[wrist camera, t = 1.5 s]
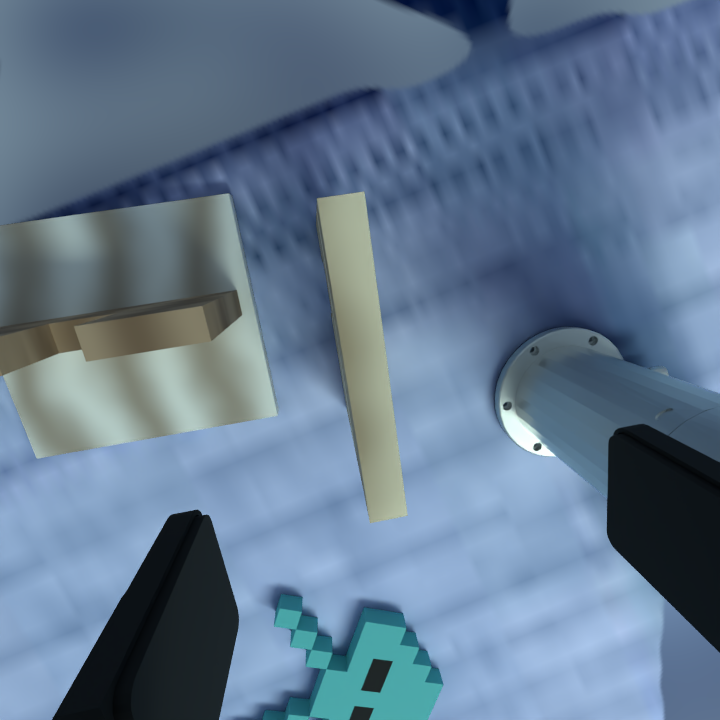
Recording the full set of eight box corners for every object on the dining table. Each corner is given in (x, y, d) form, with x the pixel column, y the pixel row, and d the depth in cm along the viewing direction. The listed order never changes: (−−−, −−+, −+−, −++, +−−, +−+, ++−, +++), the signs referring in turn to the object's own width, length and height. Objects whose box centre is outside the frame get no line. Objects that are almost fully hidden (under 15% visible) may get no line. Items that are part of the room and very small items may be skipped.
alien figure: (236, 732, 45) (400, 748, 49) (232, 755, 43) (404, 770, 47) (281, 590, 41) (457, 618, 45) (279, 608, 39) (464, 637, 43)
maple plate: (340, 221, 32) (364, 191, 17) (368, 405, 36) (407, 515, 21) (316, 224, 32) (317, 198, 17) (346, 408, 36) (370, 523, 21)
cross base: (232, 195, 31) (187, 164, 20) (278, 410, 36) (263, 478, 25) (-41, 233, 29) (-246, 222, 19) (46, 451, 34) (-77, 542, 24)
